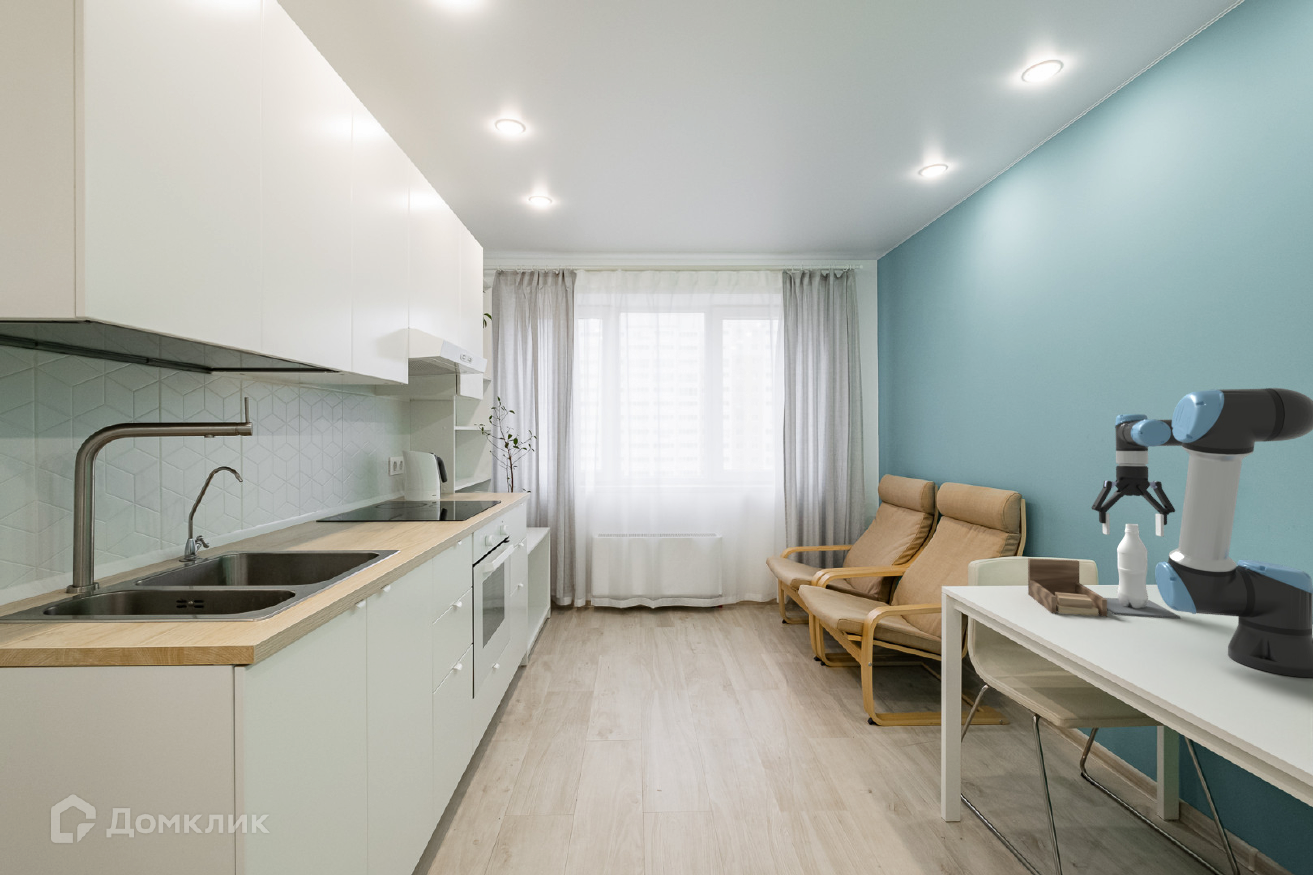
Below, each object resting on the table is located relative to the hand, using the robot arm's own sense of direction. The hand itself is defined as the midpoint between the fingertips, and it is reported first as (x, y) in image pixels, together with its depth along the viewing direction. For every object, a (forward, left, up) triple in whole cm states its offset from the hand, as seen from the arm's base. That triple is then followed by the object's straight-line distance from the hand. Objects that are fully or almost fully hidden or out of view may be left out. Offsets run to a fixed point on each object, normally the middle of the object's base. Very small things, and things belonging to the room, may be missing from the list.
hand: (1132, 535), depth 172 cm
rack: (-1, +18, -22) cm, 29 cm away
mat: (0, 0, -22) cm, 22 cm away
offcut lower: (-7, +18, -23) cm, 30 cm away
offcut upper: (-7, +18, -21) cm, 28 cm away
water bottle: (0, 0, -22) cm, 22 cm away
